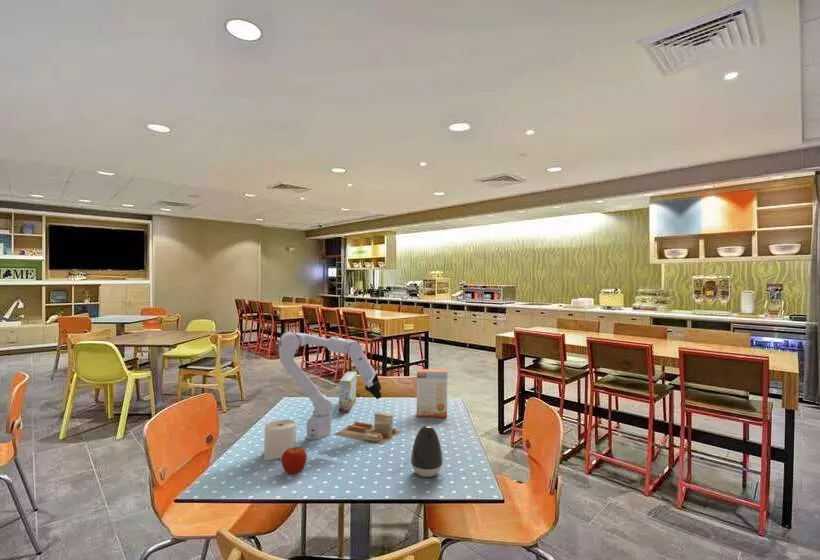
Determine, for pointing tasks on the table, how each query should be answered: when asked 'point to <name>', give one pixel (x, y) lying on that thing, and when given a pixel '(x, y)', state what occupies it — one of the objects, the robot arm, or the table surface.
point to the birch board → (383, 422)
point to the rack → (365, 432)
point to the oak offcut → (373, 435)
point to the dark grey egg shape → (426, 452)
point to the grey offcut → (374, 439)
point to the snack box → (347, 391)
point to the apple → (294, 460)
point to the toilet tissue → (279, 438)
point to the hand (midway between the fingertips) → (379, 393)
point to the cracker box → (432, 393)
